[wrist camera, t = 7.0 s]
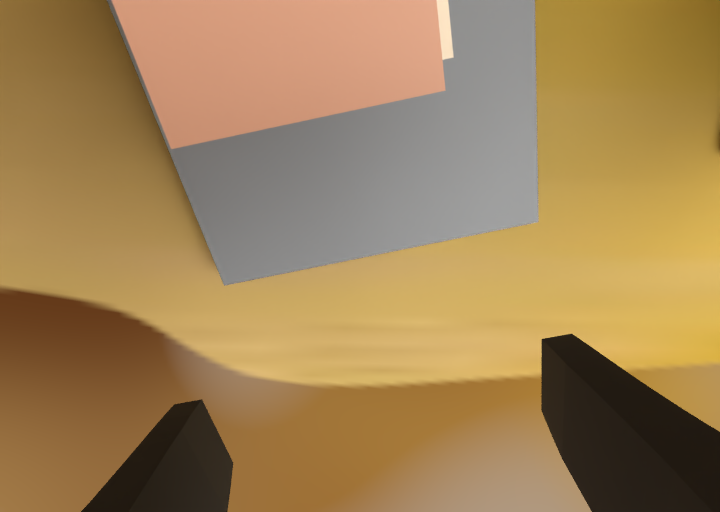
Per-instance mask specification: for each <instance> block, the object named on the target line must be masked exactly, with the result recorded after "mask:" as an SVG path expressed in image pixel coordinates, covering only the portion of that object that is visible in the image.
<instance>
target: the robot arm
mask: <svg viewBox="0 0 720 512" xmlns="http://www.w3.org/2000/svg"><path fill="white" fill-rule="evenodd" d="M542 412H543V415H544V417H545V420H546V422H547V425H548V427H549V429H550V432H551V434H552V437H553V439H554V441H555V443H556V446H557V448H558V450H559V453H560V455H561V457H562V459H563V461H564V463H565V464H566V466H567V468H568V470H569V472H570V473H571V475H572V477H573V479H574V481H575V482H576V484H577V486H578V488H579V490H580V491H581V493H582V495H583V497H584V498H585V500H586V502H587V504H588V505H589V507H590V509H591V511H592V512H720V432H719V431H717V430H716V429H714V428H712V427H711V426H709V425H707V424H706V423H704V422H703V421H701V420H699V419H698V418H696V417H695V416H693V415H691V414H689V413H688V412H687V411H685V410H683V409H682V408H680V407H678V406H677V405H676V404H674V403H673V402H671V401H670V400H668V399H666V398H665V397H663V396H662V395H660V394H659V393H657V392H656V391H654V390H653V389H651V388H649V387H648V386H647V385H645V384H644V383H642V382H640V381H639V380H638V379H636V378H635V377H633V376H632V375H630V374H629V373H628V372H626V371H625V370H623V369H622V368H620V367H619V366H617V365H616V364H615V363H613V362H612V361H610V360H609V359H607V358H606V357H605V356H603V355H602V354H600V353H599V352H597V351H596V350H595V349H593V348H592V347H590V346H589V345H587V344H586V343H584V342H583V341H582V340H580V339H579V338H577V337H576V336H574V335H573V334H568V335H562V336H557V337H551V338H545V339H542ZM232 468H233V462H232V460H231V458H230V455H229V453H228V452H227V450H226V447H225V445H224V443H223V442H222V439H221V437H220V435H219V433H218V431H217V429H216V427H215V425H214V423H213V421H212V419H211V417H210V415H209V413H208V411H207V409H206V407H205V405H204V403H203V401H202V400H197V401H191V402H185V403H180V404H175V405H174V406H173V407H172V408H171V409H170V410H169V411H168V412H167V413H166V414H165V415H164V417H163V418H162V419H161V420H160V421H159V422H158V423H157V425H156V426H155V427H154V428H153V429H152V430H151V432H150V433H149V434H148V435H147V436H146V438H145V439H144V440H143V441H142V442H141V444H140V445H139V446H138V447H137V448H136V449H135V451H134V452H133V453H132V454H131V455H130V456H129V458H128V459H127V460H126V461H125V462H124V463H123V464H122V466H121V467H120V468H119V469H118V470H117V471H116V473H115V474H114V475H113V476H112V477H111V479H110V480H109V481H108V482H107V483H106V484H105V485H104V487H103V488H102V489H101V490H100V491H99V492H98V494H97V495H96V496H95V497H94V498H93V500H91V501H90V503H89V504H88V505H87V506H86V507H85V508H84V509H83V510H82V511H81V512H227V509H228V502H229V494H230V487H231V478H232Z"/></svg>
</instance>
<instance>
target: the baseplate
mask: <svg viewBox="0 0 720 512" xmlns="http://www.w3.org/2000/svg"><path fill="white" fill-rule="evenodd" d="M107 2H108V4H109V7H110V9H111V12H112V14H113V16H114V19H115V21H116V24H117V26H118V29H119V31H120V33H121V36H122V38H123V41H124V43H125V46H126V48H127V50H128V53H129V55H130V58H131V60H132V63H133V65H134V67H135V70H136V72H137V75H138V77H139V80H140V82H141V84H142V87H143V89H144V92H145V94H146V97H147V99H148V101H149V104H150V106H151V109H152V111H153V114H154V116H155V119H156V121H157V123H158V126H159V128H160V131H161V133H162V136H163V138H164V140H165V143H166V145H167V148H168V150H169V153H170V155H171V157H172V160H173V162H174V165H175V167H176V170H177V172H178V174H179V177H180V179H181V182H182V184H183V187H184V189H185V191H186V194H187V196H188V199H189V201H190V204H191V206H192V208H193V211H194V213H195V216H196V218H197V221H198V223H199V226H200V228H201V230H202V233H203V235H204V238H205V240H206V243H207V245H208V247H209V250H210V252H211V255H212V257H213V260H214V262H215V264H216V267H217V269H218V272H219V274H220V277H221V279H222V281H223V284H224V285H229V284H234V283H239V282H244V281H249V280H254V279H259V278H264V277H269V276H274V275H279V274H284V273H289V272H294V271H299V270H304V269H308V268H313V267H318V266H323V265H328V264H333V263H338V262H343V261H348V260H353V259H358V258H363V257H368V256H373V255H378V254H383V253H388V252H393V251H398V250H402V249H407V248H412V247H417V246H422V245H427V244H432V243H437V242H442V241H447V240H452V239H457V238H462V237H467V236H472V235H477V234H482V233H487V232H492V231H496V230H501V229H506V228H511V227H516V226H521V225H526V224H531V223H536V222H538V164H537V101H536V38H535V0H448V4H449V15H450V25H451V36H452V46H453V56H454V58H449V59H445V60H443V70H444V80H445V90H446V91H441V92H437V93H432V94H427V95H423V96H418V97H413V98H409V99H404V100H399V101H394V102H390V103H385V104H380V105H376V106H371V107H366V108H362V109H357V110H352V111H348V112H343V113H338V114H334V115H329V116H324V117H320V118H315V119H310V120H306V121H301V122H296V123H292V124H287V125H282V126H278V127H273V128H268V129H263V130H259V131H254V132H249V133H245V134H240V135H235V136H231V137H226V138H221V139H217V140H212V141H207V142H203V143H198V144H193V145H189V146H184V147H179V148H175V149H171V148H170V145H169V143H168V140H167V138H166V135H165V133H164V130H163V128H162V125H161V123H160V120H159V118H158V115H157V113H156V110H155V108H154V105H153V103H152V100H151V98H150V95H149V93H148V90H147V88H146V85H145V83H144V80H143V78H142V75H141V73H140V70H139V68H138V65H137V63H136V60H135V58H134V55H133V53H132V50H131V48H130V45H129V43H128V40H127V38H126V35H125V33H124V30H123V28H122V25H121V23H120V20H119V18H118V15H117V13H116V10H115V8H114V5H113V3H112V0H107Z"/></svg>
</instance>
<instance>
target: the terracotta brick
mask: <svg viewBox="0 0 720 512" xmlns="http://www.w3.org/2000/svg"><path fill="white" fill-rule="evenodd" d="M112 3H113V5H114V8H115V10H116V13H117V15H118V18H119V20H120V23H121V25H122V28H123V30H124V33H125V35H126V38H127V40H128V43H129V45H130V48H131V50H132V53H133V55H134V58H135V60H136V63H137V65H138V68H139V70H140V73H141V75H142V78H143V80H144V83H145V85H146V88H147V90H148V93H149V95H150V98H151V100H152V103H153V105H154V108H155V110H156V113H157V115H158V118H159V120H160V123H161V125H162V128H163V130H164V133H165V135H166V138H167V140H168V143H169V145H170V148H171V149H175V148H179V147H184V146H189V145H193V144H198V143H203V142H207V141H212V140H217V139H221V138H226V137H231V136H235V135H240V134H245V133H249V132H254V131H259V130H263V129H268V128H273V127H278V126H282V125H287V124H292V123H296V122H301V121H306V120H310V119H315V118H320V117H324V116H329V115H334V114H338V113H343V112H348V111H352V110H357V109H362V108H366V107H371V106H376V105H380V104H385V103H390V102H394V101H399V100H404V99H409V98H413V97H418V96H423V95H427V94H432V93H437V92H441V91H446V90H445V80H444V70H443V60H442V50H441V40H440V30H439V20H438V10H437V0H112Z"/></svg>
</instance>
